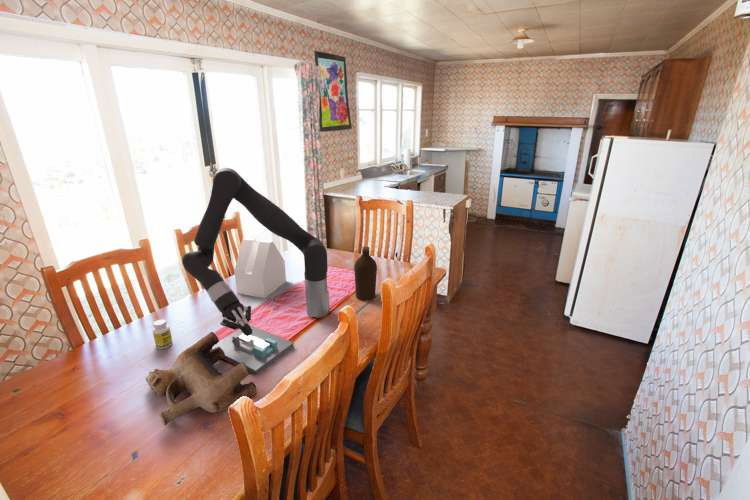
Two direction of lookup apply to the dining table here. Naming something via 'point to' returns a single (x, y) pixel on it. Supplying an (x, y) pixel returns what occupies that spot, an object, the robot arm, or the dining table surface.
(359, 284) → the olive oil
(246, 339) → the latch lever
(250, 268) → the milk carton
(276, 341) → the base plate
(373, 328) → the dining table surface
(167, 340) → the supplement bottle
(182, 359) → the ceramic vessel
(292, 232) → the robot arm
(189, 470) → the dining table surface
